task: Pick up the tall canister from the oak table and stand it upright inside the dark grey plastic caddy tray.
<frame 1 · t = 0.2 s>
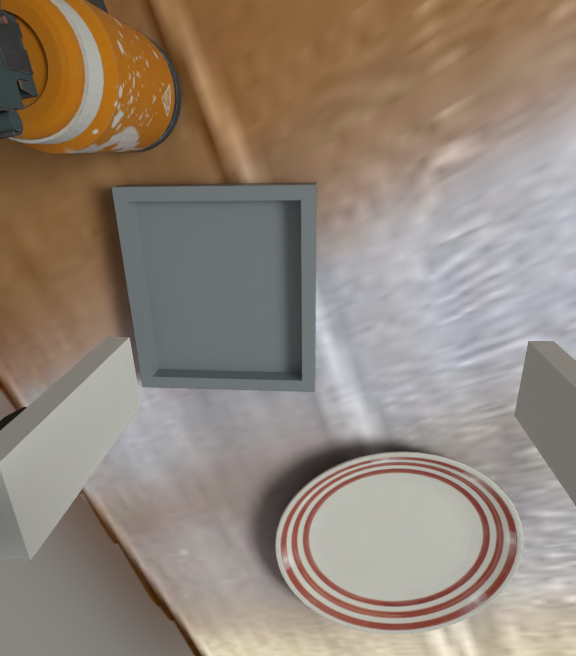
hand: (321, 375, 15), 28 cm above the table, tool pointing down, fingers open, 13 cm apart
dinner plate: (392, 530, 54), on the table
caddy tray: (225, 288, 44), on the table
canister: (129, 80, 38), on the table
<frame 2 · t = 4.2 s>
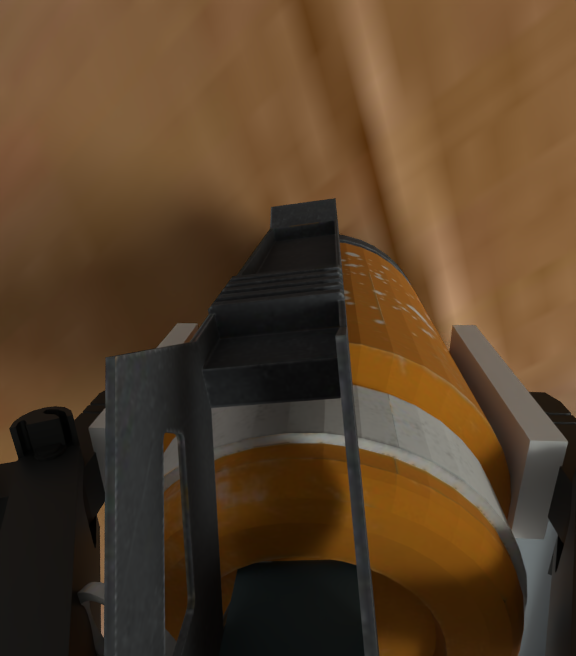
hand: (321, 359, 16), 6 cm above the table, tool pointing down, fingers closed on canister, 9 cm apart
caddy tray: (432, 572, 28), on the table
canister: (322, 299, 22), on the table, touching gripper
when the fingers open (9 cm above the table, at t = 12.4 s): canister drops 2 cm, resting on caddy tray.
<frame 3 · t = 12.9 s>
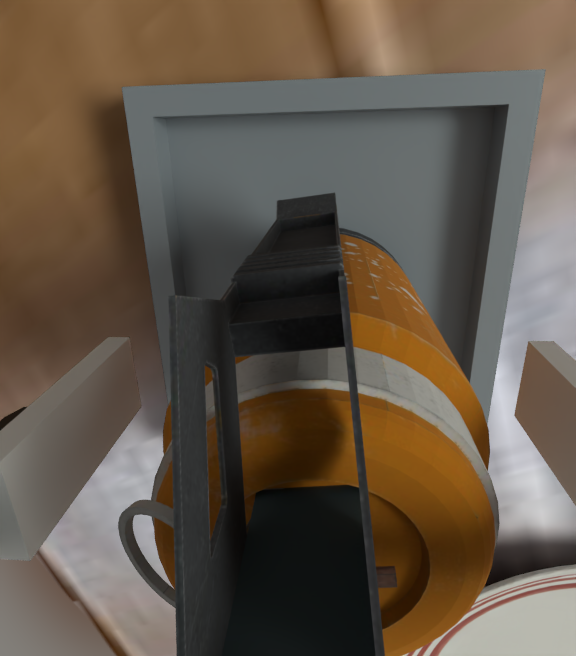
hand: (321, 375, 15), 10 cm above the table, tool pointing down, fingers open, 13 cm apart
caddy tray: (324, 286, 25), on the table
canister: (322, 289, 24), point 1 cm above the table, touching caddy tray
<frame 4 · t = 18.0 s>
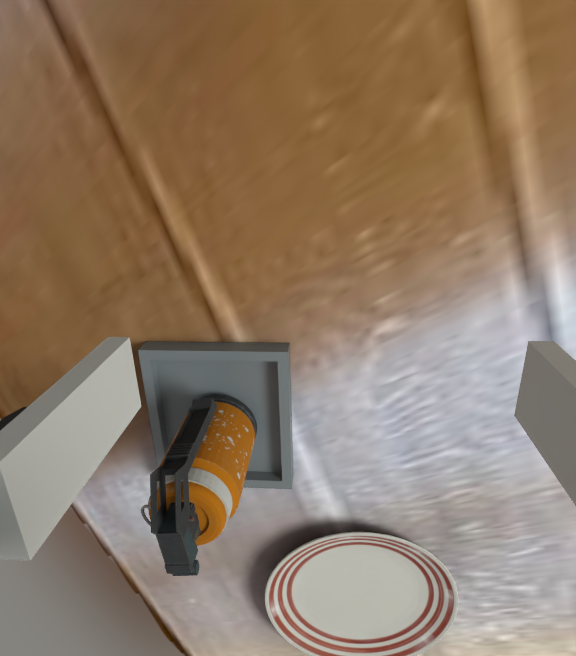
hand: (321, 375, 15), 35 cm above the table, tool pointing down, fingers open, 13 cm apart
dinner plate: (358, 585, 67), on the table
caddy tray: (223, 412, 57), on the table
canister: (221, 414, 57), point 1 cm above the table, touching caddy tray
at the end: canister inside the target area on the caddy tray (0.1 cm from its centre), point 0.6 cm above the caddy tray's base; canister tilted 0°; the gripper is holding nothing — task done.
